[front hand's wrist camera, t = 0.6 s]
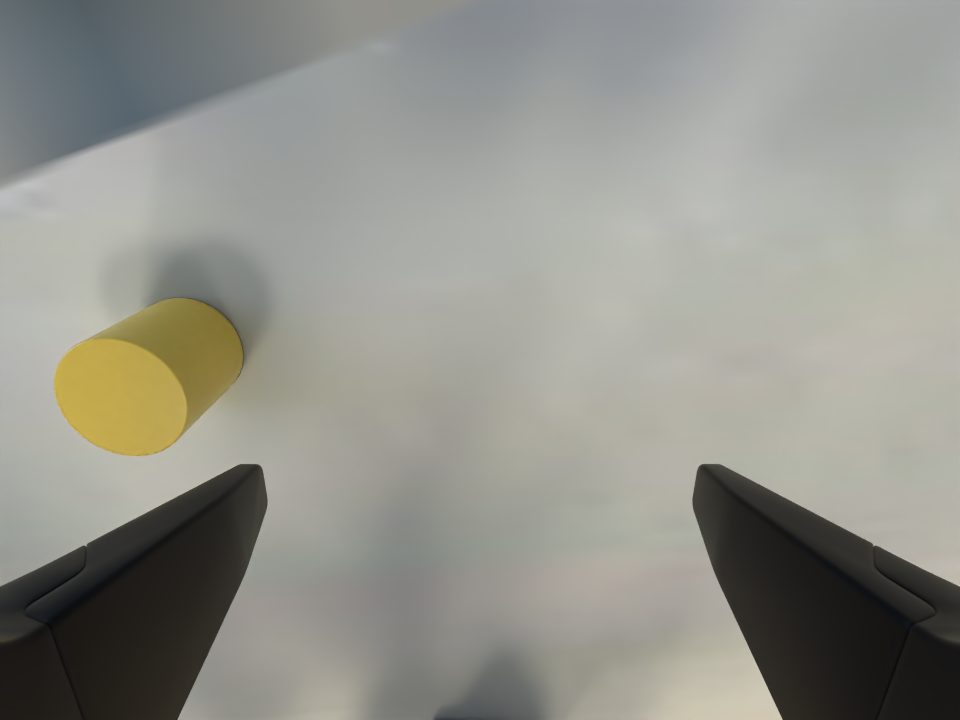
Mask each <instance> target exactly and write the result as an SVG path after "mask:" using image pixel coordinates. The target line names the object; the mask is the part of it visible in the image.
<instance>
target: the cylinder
mask: <svg viewBox="0 0 960 720" xmlns="http://www.w3.org/2000/svg"><path fill="white" fill-rule="evenodd" d="M242 364H243V350H242V345H241V342H240V339H239V336H238V334H237V332H236V331H235V329H234V327H233V326H232V325H231V323H230V322H229V321H228V320H227V319H226V318H225V317H224V316H223V315H222V314H221V313H220V312H218V311H217V310H215V309H214V308H212V307H211V306H209V305H207V304H205V303H202V302H199V301H196V300H192V299H186V298H171V299H166V300H162V301H160V302H157V303H155V304H153V305H151V306H150V307H148V308H146V309H144V310H142V311H140V312H138V313H136V314H134V315H132V316H130V317H128V318H127V319H125V320H123V321H121V322H119V323H117V324H115V325H113V326H111V327H109V328H107V329H105V330H103V331H102V332H100V333H98V334H96V335H94V336H92V337H90V338H88V339H86V340H84V341H82V342H80V343H79V344H77V345H75V346H74V347H72V348H71V349H70V350H69V351H68V352H66V354H65V355H64V356H63V357H62V359H61V360H60V362H59V364H58V366H57V369H56V372H55V378H54V390H55V396H56V399H57V403H58V405H59V407H60V410H61V412H62V413H63V415H64V417H65V418H66V419H67V421H68V422H69V423H70V425H71V426H72V427H73V428H74V429H75V430H76V431H77V432H78V433H79V434H80V435H81V436H83V437H84V438H85V439H87V440H88V441H90V442H91V443H93V444H95V445H96V446H98V447H100V448H103V449H105V450H107V451H110V452H113V453H117V454H121V455H128V456H143V455H150V454H154V453H157V452H160V451H163V450H165V449H166V448H168V447H170V446H171V445H172V444H174V443H175V442H176V441H177V440H178V439H179V438H180V437H181V436H182V435H183V434H184V433H185V432H186V431H187V430H188V429H189V428H190V427H191V426H192V425H193V424H194V423H195V422H196V421H197V420H198V419H199V418H200V417H201V416H202V415H203V414H204V413H205V412H206V411H207V410H208V409H209V408H210V407H211V406H212V405H213V404H214V403H215V402H216V400H217V399H218V398H219V397H220V396H221V395H222V394H223V393H224V392H225V391H226V390H227V389H228V388H229V387H230V386H231V385H232V384H233V383H234V382H235V381H236V379H237V378H238V376H239V374H240V372H241V368H242Z"/></svg>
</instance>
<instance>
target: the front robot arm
mask: <svg viewBox="0 0 960 720" xmlns="http://www.w3.org/2000/svg"><path fill="white" fill-rule="evenodd" d="M266 509H267V493H266V487H265V481H264V474H263V470H262V468H261V466H260V465H258V464H240V465H237V466H236V467H234V468H232V469H230V470H228V471H226V472H224V473H222V474H220V475H218V476H216V477H214V478H212V479H211V480H209V481H207V482H205V483H203V484H201V485H199V486H197V487H195V488H193V489H191V490H189V491H188V492H186V493H184V494H182V495H180V496H178V497H176V498H174V499H172V500H170V501H168V502H166V503H164V504H163V505H161V506H159V507H157V508H155V509H153V510H151V511H149V512H147V513H145V514H143V515H141V516H140V517H138V518H136V519H134V520H132V521H130V522H128V523H126V524H124V525H122V526H120V527H118V528H116V529H115V530H113V531H111V532H109V533H107V534H105V535H103V536H101V537H99V538H97V539H95V540H93V541H92V542H90V543H88V544H87V547H86V546H82V547H80V548H78V549H76V550H74V551H72V552H70V553H68V554H66V555H64V556H62V557H60V558H59V559H57V560H55V561H53V562H51V563H49V564H47V565H45V566H43V567H41V568H39V569H37V570H35V571H32V572H30V573H28V574H26V575H24V576H22V577H20V578H18V579H15V580H13V581H11V582H9V583H7V584H5V585H3V586H1V587H0V720H177V719H178V717H179V715H180V713H181V711H182V708H183V706H184V704H185V702H186V700H187V698H188V696H189V693H190V691H191V689H192V687H193V685H194V683H195V681H196V678H197V676H198V674H199V672H200V670H201V668H202V665H203V663H204V661H205V659H206V657H207V655H208V653H209V650H210V648H211V646H212V644H213V642H214V640H215V638H216V635H217V633H218V631H219V629H220V627H221V625H222V623H223V620H224V618H225V616H226V614H227V612H228V610H229V608H230V605H231V603H232V601H233V599H234V597H235V595H236V593H237V590H238V588H239V586H240V584H241V582H242V579H243V577H244V575H245V572H246V570H247V567H248V564H249V561H250V558H251V555H252V552H253V549H254V546H255V543H256V540H257V537H258V534H259V531H260V528H261V525H262V522H263V519H264V516H265V513H266ZM693 509H694V513H695V516H696V519H697V522H698V525H699V528H700V531H701V534H702V537H703V540H704V543H705V546H706V549H707V552H708V555H709V558H710V561H711V564H712V567H713V570H714V572H715V575H716V577H717V579H718V582H719V584H720V586H721V588H722V590H723V593H724V595H725V597H726V599H727V601H728V603H729V605H730V608H731V610H732V612H733V614H734V616H735V618H736V621H737V623H738V625H739V627H740V629H741V631H742V633H743V636H744V638H745V640H746V642H747V644H748V646H749V648H750V651H751V653H752V655H753V657H754V659H755V661H756V663H757V666H758V668H759V670H760V672H761V674H762V676H763V678H764V681H765V683H766V685H767V687H768V689H769V691H770V693H771V696H772V698H773V700H774V702H775V704H776V706H777V708H778V711H779V713H780V715H781V717H782V719H783V720H960V587H959V586H957V585H955V584H953V583H951V582H949V581H947V580H945V579H942V578H940V577H938V576H936V575H934V574H932V573H930V572H928V571H925V570H923V569H921V568H919V567H917V566H915V565H913V564H911V563H909V562H907V561H905V560H903V559H901V558H899V557H898V556H896V555H894V554H892V553H890V552H888V551H886V550H884V549H882V548H880V547H878V546H874V547H873V544H872V543H870V542H869V541H867V540H865V539H863V538H861V537H859V536H857V535H855V534H853V533H851V532H849V531H847V530H845V529H844V528H842V527H840V526H838V525H836V524H834V523H832V522H830V521H828V520H826V519H824V518H822V517H820V516H819V515H817V514H815V513H813V512H811V511H809V510H807V509H805V508H803V507H801V506H799V505H797V504H795V503H794V502H792V501H790V500H788V499H786V498H784V497H782V496H780V495H778V494H776V493H774V492H772V491H771V490H769V489H767V488H765V487H763V486H761V485H759V484H757V483H755V482H753V481H751V480H749V479H747V478H746V477H744V476H742V475H740V474H738V473H736V472H734V471H732V470H730V469H728V468H726V467H724V466H723V465H720V464H702V465H700V466H699V468H698V470H697V474H696V480H695V487H694V493H693Z"/></svg>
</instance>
